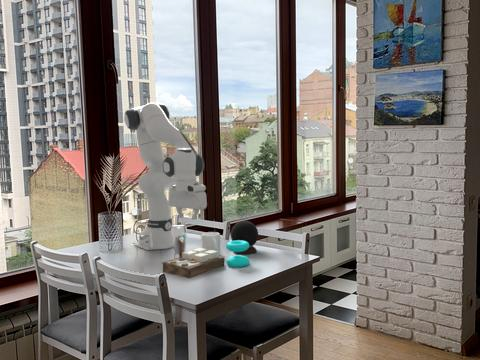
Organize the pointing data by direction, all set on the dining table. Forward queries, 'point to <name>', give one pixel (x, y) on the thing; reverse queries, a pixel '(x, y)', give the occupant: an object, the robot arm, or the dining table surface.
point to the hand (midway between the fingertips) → (187, 218)
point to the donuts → (237, 259)
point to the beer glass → (179, 240)
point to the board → (191, 266)
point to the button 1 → (188, 255)
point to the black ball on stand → (245, 235)
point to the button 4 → (212, 254)
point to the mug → (211, 241)
